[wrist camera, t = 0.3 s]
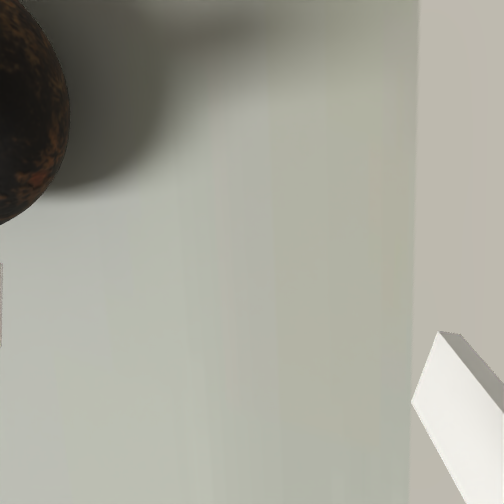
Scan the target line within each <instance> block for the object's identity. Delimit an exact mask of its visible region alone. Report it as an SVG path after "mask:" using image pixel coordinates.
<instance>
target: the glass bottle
mask: <svg viewBox="0 0 504 504" xmlns="http://www.w3.org/2000/svg"><path fill="white" fill-rule="evenodd" d="M69 128H70V106H69V96H68V91H67V86H66V82H65V78H64V74H63V72H62V68H61V66H60V63H59V61H58V58H57V56H56V54H55V52H54V50H53V48H52V46H51V44H50V42H49V41H48V39H47V37H46V36H45V34H44V32H43V31H42V29H41V28H40V27H39V25H38V24H37V22H36V21H35V20H34V19H33V17H32V16H31V15H30V14H29V12H28V11H27V10H26V9H25V8H24V6H23V5H22V4H21V3H20V2H19V1H18V0H0V225H2V224H3V223H5V222H7V221H9V220H11V219H12V218H14V217H16V216H17V215H19V214H20V213H22V212H23V211H25V210H26V209H27V208H29V207H30V206H31V205H32V204H33V203H34V202H35V201H36V200H37V199H38V198H39V197H40V196H41V195H42V194H43V193H44V191H45V190H46V189H47V187H48V186H49V184H50V183H51V182H52V180H53V178H54V176H55V175H56V173H57V171H58V169H59V168H60V165H61V163H62V160H63V157H64V154H65V151H66V147H67V142H68V137H69Z"/></svg>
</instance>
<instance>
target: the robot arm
mask: <svg viewBox="0 0 504 504" xmlns="http://www.w3.org/2000/svg"><path fill="white" fill-rule="evenodd" d="M2 285H3V263H0V348H1V346H2ZM411 403H412V405H413V406H414V409H415V410H416V412H417V414H418V416H419V418H420V419H421V421H422V423H423V425H424V427H425V429H426V431H427V432H428V434H429V436H430V438H431V440H432V442H433V443H434V445H435V447H436V449H437V451H438V453H439V454H440V456H441V458H442V460H443V462H444V464H445V465H446V467H447V469H448V471H449V473H450V475H451V476H452V478H453V480H454V482H455V484H456V485H457V487H458V489H459V491H460V493H461V495H462V497H463V499H464V500H465V502H466V504H504V384H503V382H502V381H501V380H500V379H499V378H498V377H497V376H496V374H495V373H494V372H493V371H492V370H491V368H490V367H489V366H488V365H487V364H486V363H485V362H484V360H483V359H482V358H481V357H480V356H479V355H478V354H477V352H476V351H475V350H474V349H473V348H472V347H471V345H469V343H468V342H467V341H466V340H465V339H464V337H463V336H462V335H461V334H455V333H449V332H442V331H438V332H437V335H436V337H435V340H434V343H433V345H432V348H431V351H430V353H429V356H428V359H427V362H426V364H425V367H424V369H423V372H422V375H421V377H420V380H419V383H418V385H417V388H416V391H415V394H414V396H413V399H412V401H411Z"/></svg>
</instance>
